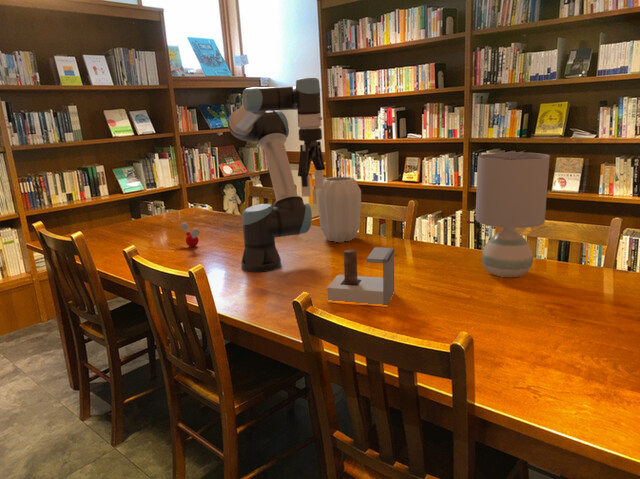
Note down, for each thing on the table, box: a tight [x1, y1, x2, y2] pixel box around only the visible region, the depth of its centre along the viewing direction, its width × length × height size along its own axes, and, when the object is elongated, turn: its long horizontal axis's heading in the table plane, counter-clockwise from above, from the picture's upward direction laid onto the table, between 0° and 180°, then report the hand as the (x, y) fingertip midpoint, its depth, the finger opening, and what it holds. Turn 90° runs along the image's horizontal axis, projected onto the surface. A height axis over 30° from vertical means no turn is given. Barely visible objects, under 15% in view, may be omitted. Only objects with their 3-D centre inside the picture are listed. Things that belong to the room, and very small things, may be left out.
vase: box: [316, 176, 362, 243], centre depth 221 cm, size 20×20×27 cm
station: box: [326, 246, 395, 305], centre depth 154 cm, size 19×12×15 cm, turn 72°
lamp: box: [474, 152, 551, 278], centre depth 166 cm, size 22×22×40 cm
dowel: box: [343, 249, 358, 286], centre depth 155 cm, size 4×4×15 cm
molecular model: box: [179, 222, 201, 248], centre depth 222 cm, size 18×6×10 cm, turn 41°
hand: (313, 192), depth 167 cm, fingers open, 13 cm apart
